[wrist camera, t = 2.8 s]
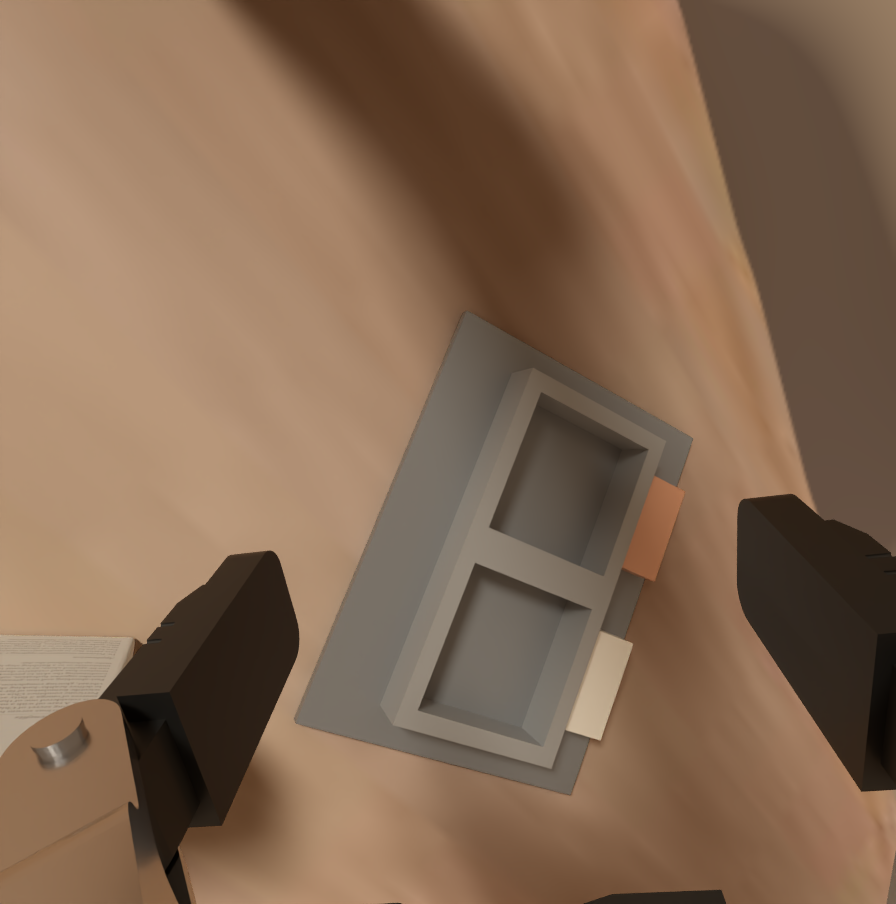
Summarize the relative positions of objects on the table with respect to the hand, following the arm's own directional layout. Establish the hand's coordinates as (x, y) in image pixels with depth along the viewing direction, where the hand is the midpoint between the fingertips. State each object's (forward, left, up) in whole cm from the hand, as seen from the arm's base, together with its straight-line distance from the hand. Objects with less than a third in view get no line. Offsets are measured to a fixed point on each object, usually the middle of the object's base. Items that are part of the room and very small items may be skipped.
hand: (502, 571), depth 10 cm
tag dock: (-1, +13, -23) cm, 26 cm away
